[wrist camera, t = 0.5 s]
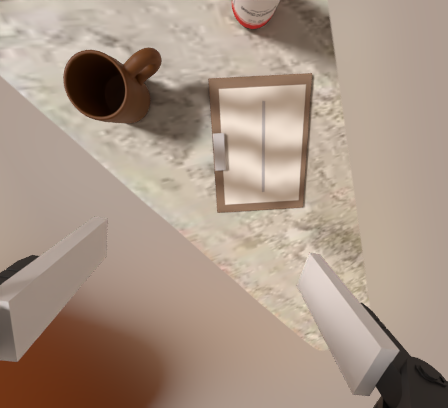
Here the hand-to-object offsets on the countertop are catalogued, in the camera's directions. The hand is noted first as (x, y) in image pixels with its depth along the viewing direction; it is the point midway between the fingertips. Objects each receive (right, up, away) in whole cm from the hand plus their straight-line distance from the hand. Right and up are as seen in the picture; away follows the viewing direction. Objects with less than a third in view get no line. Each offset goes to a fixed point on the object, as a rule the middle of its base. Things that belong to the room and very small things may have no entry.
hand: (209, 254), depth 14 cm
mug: (-12, +21, +20) cm, 31 cm away
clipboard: (+7, +13, +23) cm, 27 cm away
